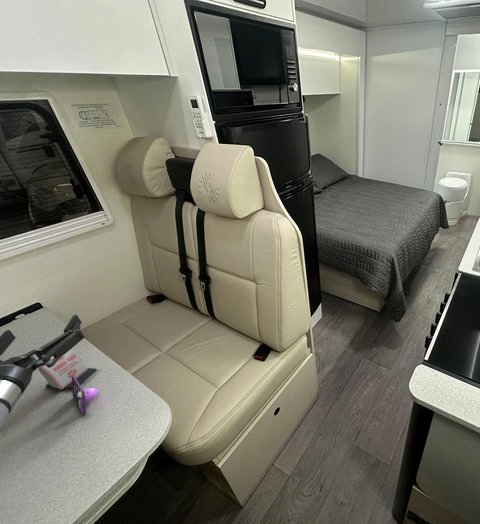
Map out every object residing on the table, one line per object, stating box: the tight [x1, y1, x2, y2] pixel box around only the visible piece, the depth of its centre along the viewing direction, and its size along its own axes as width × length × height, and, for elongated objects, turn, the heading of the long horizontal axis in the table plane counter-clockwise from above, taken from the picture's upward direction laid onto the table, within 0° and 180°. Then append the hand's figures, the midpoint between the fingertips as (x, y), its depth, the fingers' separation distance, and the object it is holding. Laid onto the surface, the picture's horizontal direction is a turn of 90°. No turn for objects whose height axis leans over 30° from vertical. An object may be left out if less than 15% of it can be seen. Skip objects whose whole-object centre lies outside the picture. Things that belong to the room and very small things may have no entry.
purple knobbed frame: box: [71, 375, 100, 417], centre depth 72 cm, size 7×5×9 cm
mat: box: [45, 367, 98, 390], centre depth 79 cm, size 9×6×1 cm
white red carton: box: [37, 348, 88, 390], centre depth 76 cm, size 4×7×10 cm, turn 165°
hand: (45, 326), depth 74 cm, fingers open, 13 cm apart
